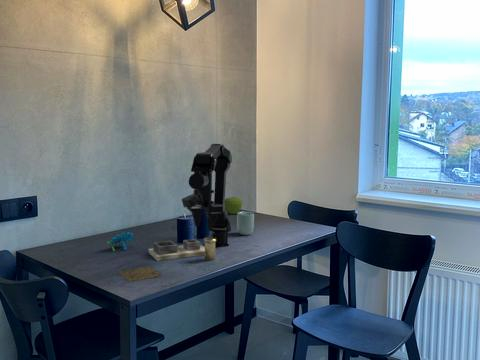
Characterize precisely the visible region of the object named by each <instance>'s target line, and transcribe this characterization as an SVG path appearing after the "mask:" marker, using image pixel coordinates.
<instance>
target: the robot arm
mask: <svg viewBox="0 0 480 360" xmlns="http://www.w3.org/2000/svg"><path fill="white" fill-rule="evenodd" d="M192 160H193V161H192V165H191V169H190V172H192V173H193V174H191V175H190V176H189V178H188V185H189V187H190V188H191V189H193V193H192V194H190V195H187V196H185V197H183V198H181V202H182V206H183V208H186V209H187V210H188V211H189V212H190V213H191V215H192V218H193V222H194V225H195V227H196V228H198V227H199V226H200V224H201V220H202V215H203V214H204V215H205V216H206V220H207V222H206V223H207V231H208V232H211V233H210V235H209V236H210V237H212V238H216V242H215V248H219V247H228V246H230V243H228V240H229V239H228V238H229V236H228V235H229V234H228V233H229V232H230V233H231V232H232V226H231V225H232V224H231V221H230V218H229V213H228V212H227V210H226V209H225V199H226V182H227V173H228V171H229V170H230V168H231V164H232V162H233V161H232V160H233V156H232V153H231V150H229V149H227V148H226V147H225V145H224V144H222V143H212V144H211V145H210V147H208V149H206V150H205V151H203V152H197V153H196V154H195V156H194V157H193V159H192ZM213 172H214V174H215V175H214V190H213ZM213 194H214V197H213V200H212V196H213Z"/></svg>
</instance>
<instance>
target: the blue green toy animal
mask: <svg viewBox="0 0 480 360" xmlns="http://www.w3.org/2000/svg"><path fill="white" fill-rule="evenodd" d="M120 234H121V235H119V234H116V235H115V237H111V239H110V241H109V240H108V241H106V244H107V246H109V247H110V248H111V249H112V252H113V253H114V252H116V249H115V248H116V247H118V248H119V247H122V248H123V251H127V250H128V249H127V246H126V245H127V244H128V243H129V242H131V241H132V239H133V238H134V237H133V232H130V231H127V232H126V233H125V232H124V231H123V232H121V233H120Z"/></svg>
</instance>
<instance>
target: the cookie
mask: <svg viewBox="0 0 480 360" xmlns="http://www.w3.org/2000/svg"><path fill="white" fill-rule="evenodd" d="M118 274H120V276H122V277H123V278H124V279H125V280H126V281H127V282H129V283H132V282H139V281H143V280H151V279H155V278H161V277H163V275H162V274H161V273H159V272H158V271H157V270H155V269H154V268H153V267H151V266H142V267H138V268H133V269H124V270H120V271H118Z"/></svg>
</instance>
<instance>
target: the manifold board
mask: <svg viewBox="0 0 480 360" xmlns="http://www.w3.org/2000/svg"><path fill="white" fill-rule="evenodd" d="M148 254H149V255H150V256H152V257H153V258H154V260H156V261H167V260H174V259H181V258H191V257H199V256H205V245H203V244H202V243H201V241H198V240H197V239H196V238H193V239H184V240H182V245H178V244H176V243H175V242H173V241H172V240H166V241H155V242H153V243H152V248H148Z"/></svg>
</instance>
